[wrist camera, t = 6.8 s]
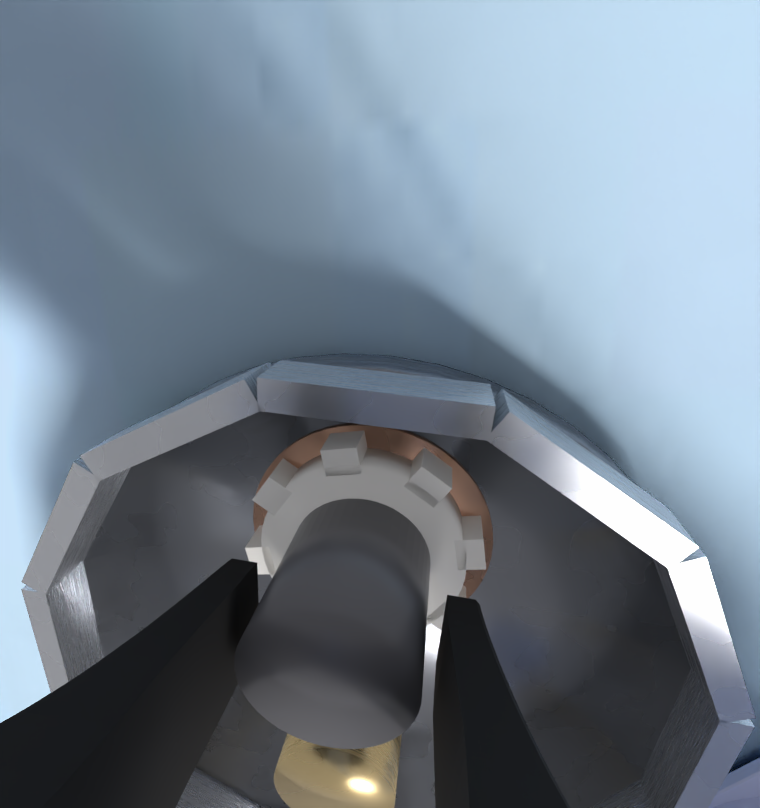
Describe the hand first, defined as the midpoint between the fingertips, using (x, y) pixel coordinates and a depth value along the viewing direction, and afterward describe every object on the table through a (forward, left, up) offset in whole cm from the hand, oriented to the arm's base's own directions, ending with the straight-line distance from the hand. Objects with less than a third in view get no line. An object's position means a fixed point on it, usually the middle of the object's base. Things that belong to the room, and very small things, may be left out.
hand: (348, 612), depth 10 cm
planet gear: (0, 0, -3) cm, 3 cm away
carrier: (-3, +5, -4) cm, 7 cm away
